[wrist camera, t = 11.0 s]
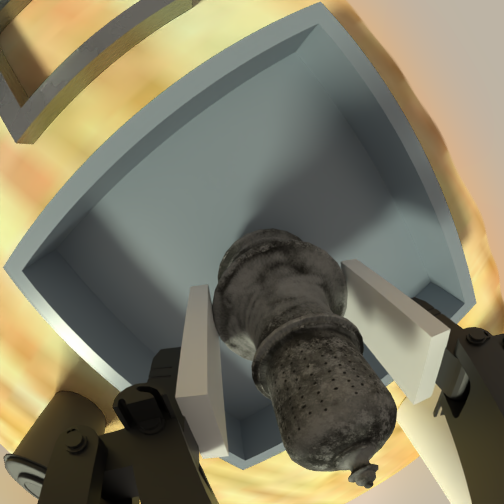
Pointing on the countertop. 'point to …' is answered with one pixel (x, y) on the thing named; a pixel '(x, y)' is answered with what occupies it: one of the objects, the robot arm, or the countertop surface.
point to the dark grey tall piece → (304, 351)
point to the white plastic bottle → (435, 445)
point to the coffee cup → (50, 437)
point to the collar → (75, 64)
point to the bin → (240, 207)
